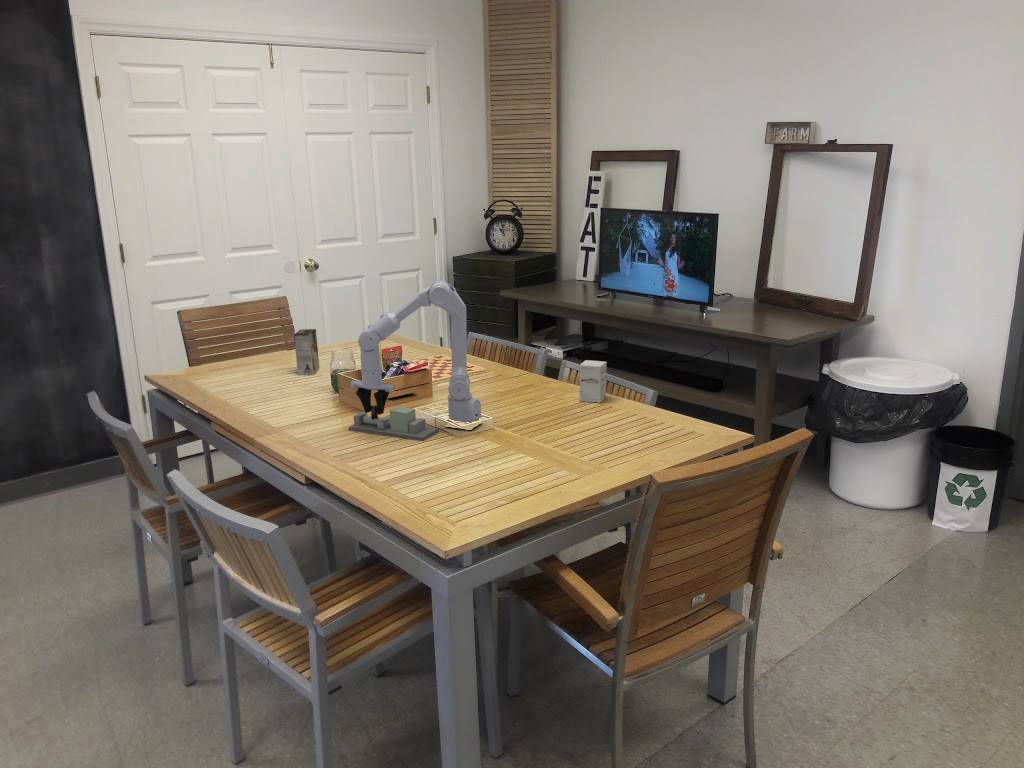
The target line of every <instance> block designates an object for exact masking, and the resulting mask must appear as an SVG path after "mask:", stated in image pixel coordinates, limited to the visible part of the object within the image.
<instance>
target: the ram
mask: <svg viewBox="0 0 1024 768" xmlns="http://www.w3.org/2000/svg"><path fill="white" fill-rule="evenodd" d="M362 423H369V424H376V425H378V428H379V429H385V428H387V427H388V426H390V425H391V423H390V414H387V415H386V416H384V417H381V416H379V415H378V412H377V404H374V405H372V404H371V411H370V415H368V414H367V415H365V416H363V417H362Z"/></svg>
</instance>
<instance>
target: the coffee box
mask: <svg viewBox="0 0 1024 768" xmlns="http://www.w3.org/2000/svg"><path fill="white" fill-rule="evenodd" d="M293 337H294V338H293V339H294V348H295V358H296V368H297V369H296V370H297V375H298V376H307V375H306V374H314V375H315V374H316V373H317V372H318V371H319V370H320V369H319V368H320V360H319V359H320V358H319V347H318V337H317V329H316V328H314V329H313V328H311V329H309V328H308V329H306V328H305V329H299V330H297V332H296V333H294V334H293ZM318 369H319V370H318Z"/></svg>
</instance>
